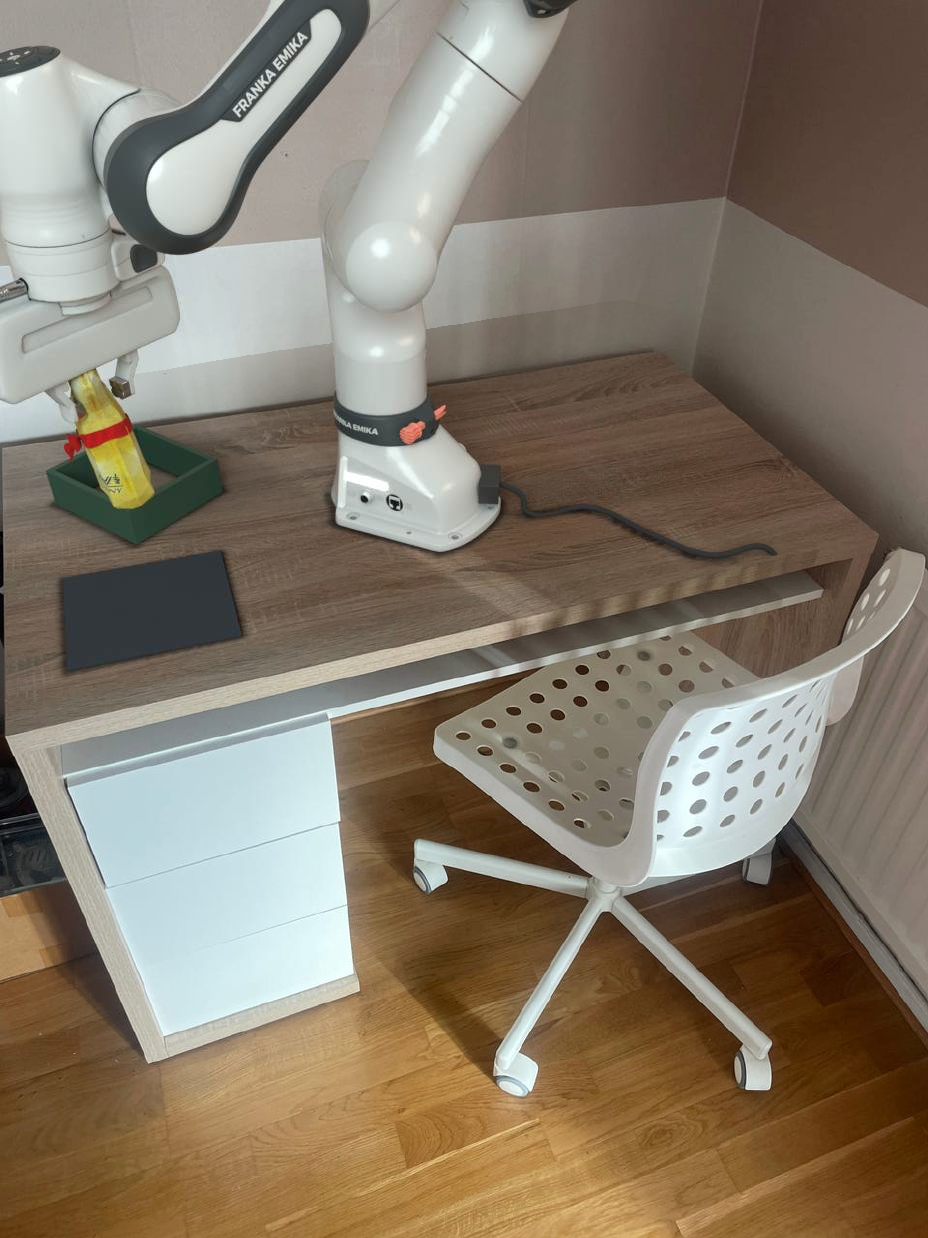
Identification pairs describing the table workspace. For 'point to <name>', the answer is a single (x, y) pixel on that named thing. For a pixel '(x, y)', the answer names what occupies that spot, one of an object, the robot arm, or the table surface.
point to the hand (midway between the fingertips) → (100, 407)
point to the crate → (159, 511)
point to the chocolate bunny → (109, 443)
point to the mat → (147, 609)
